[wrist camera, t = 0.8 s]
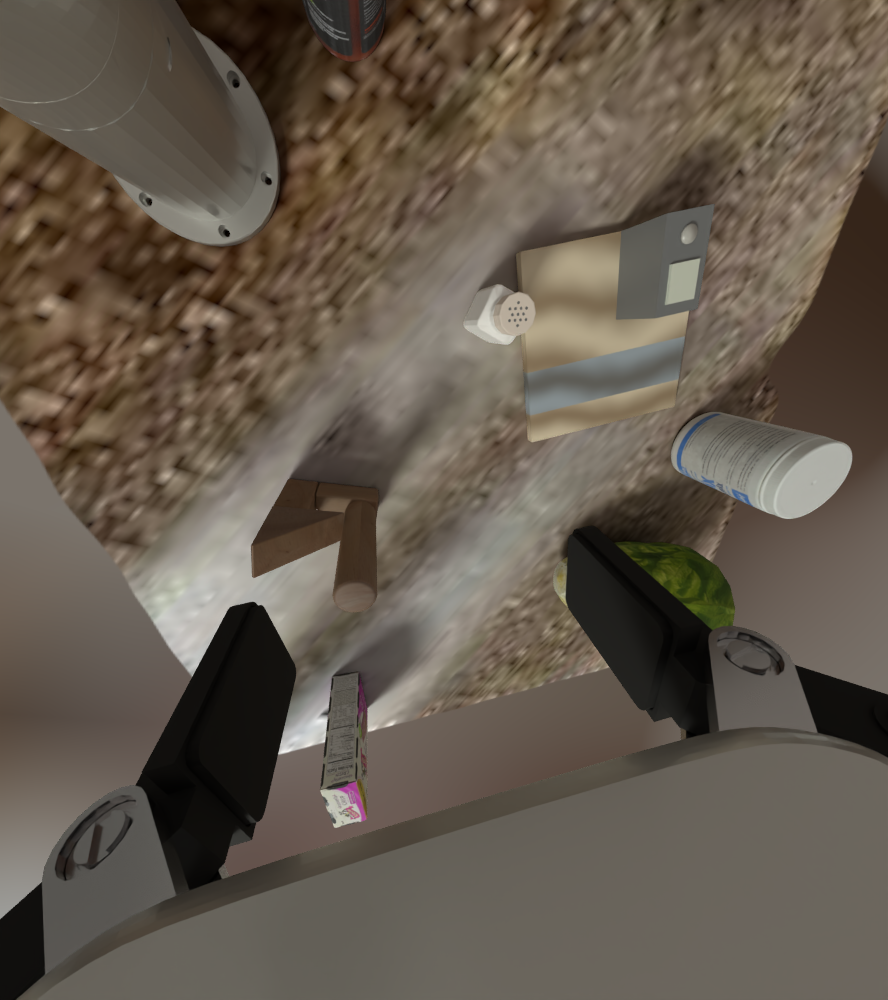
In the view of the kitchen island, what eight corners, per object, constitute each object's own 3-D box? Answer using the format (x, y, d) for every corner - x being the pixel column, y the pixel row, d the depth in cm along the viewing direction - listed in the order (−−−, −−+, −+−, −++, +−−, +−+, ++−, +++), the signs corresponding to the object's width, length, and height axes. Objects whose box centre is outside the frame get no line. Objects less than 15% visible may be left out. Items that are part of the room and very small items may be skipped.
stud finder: (621, 231, 34) (669, 212, 28) (661, 222, 34) (717, 202, 28) (615, 319, 37) (657, 318, 32) (652, 311, 38) (700, 308, 32)
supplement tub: (659, 474, 50) (757, 525, 37) (679, 411, 46) (798, 444, 33) (713, 469, 52) (825, 516, 39) (738, 408, 48) (873, 437, 35)
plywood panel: (515, 253, 34) (520, 251, 33) (694, 217, 35) (703, 214, 34) (527, 439, 43) (531, 442, 42) (667, 404, 45) (674, 406, 44)
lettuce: (539, 531, 59) (594, 510, 43) (657, 556, 62) (749, 544, 46) (531, 630, 54) (589, 646, 39) (659, 652, 57) (763, 675, 41)
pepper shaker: (460, 326, 36) (486, 326, 28) (477, 287, 35) (510, 275, 26) (490, 344, 37) (524, 349, 29) (508, 308, 36) (549, 302, 28)
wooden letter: (287, 477, 40) (233, 574, 24) (378, 487, 43) (382, 580, 27) (287, 504, 41) (235, 612, 26) (375, 512, 44) (376, 614, 28)
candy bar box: (369, 708, 63) (368, 820, 48) (342, 713, 62) (333, 830, 47) (361, 669, 57) (357, 783, 43) (331, 675, 57) (317, 792, 42)
